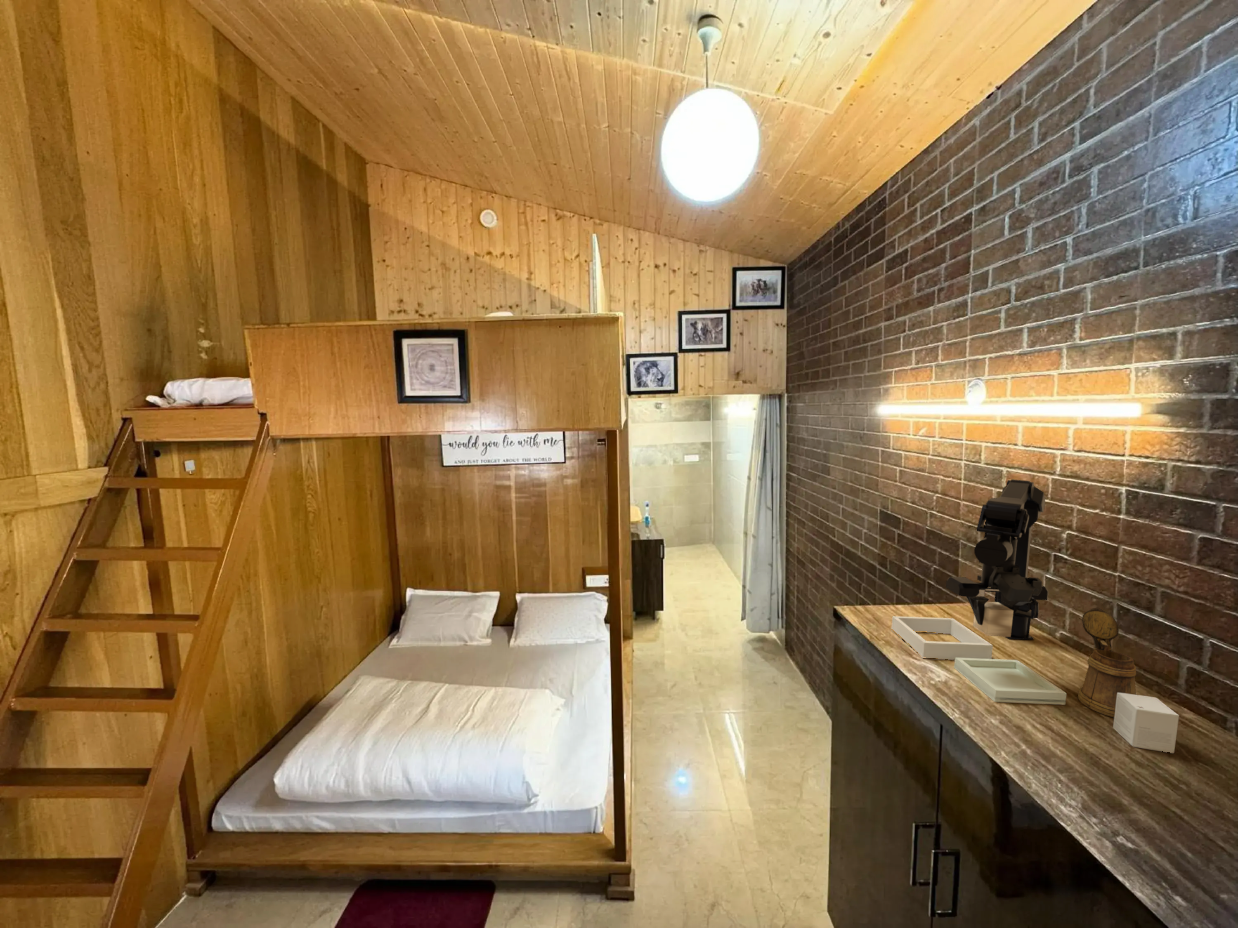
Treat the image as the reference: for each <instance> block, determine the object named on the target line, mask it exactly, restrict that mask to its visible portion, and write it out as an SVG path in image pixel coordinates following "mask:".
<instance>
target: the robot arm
mask: <svg viewBox="0 0 1238 928" xmlns="http://www.w3.org/2000/svg"><path fill="white" fill-rule="evenodd" d="M1045 506H1046V497H1045V492H1044V491H1043V490H1041V489H1039V488H1038V487H1036V486H1035V483H1034V482H1033V481H1031V480H1023V479H1008V480H1007V482H1006V486H1004V487H1002V490H1001V493H1000V496H998V497H992V498H990V499H988V500H987V501H986V502H985V504H982V506H981V510H980V515H979V519H978V523H977V526H976V532H980V533H984V536H983V538H982V539H980V541H978V542H977V543H976V545H975V546H974V550H973V553H974V555H975V558H976V559H977V561H978V562H979V563H980V564H982V565H981V575H979V574H977V577H976V579H977V581H979V582H975V581H973V580H971V579H969V578H967V577H965V576H964V577H963V576H962V577H961V576H949V577H948V578H947V579H946V582H945V588H946V589H948V590H949V591H951V592H953V593H954V594H956V595H957V596H960V597H966V600H967V601H968V603H969V605H970V608H971V610H972V613H973V616H974V615H975V618H976V620H977V623H978V624H979V625H982V624H983V620H984V608H985V603H986V602H989V600H990V599H989V598H987V597H985V595H986V594H985V593H986V592H987V593H994V602H999V603H1000V604H1002V605H1004V606H1006V607H1008V608H1010V609H1011V610H1013V620H1012V629H1011V637H1006V638H1007V639H1009V640H1029V641H1030V640H1031V641H1032V640H1033V641H1034V636H1031V635H1030V629H1031V620H1034V619H1039V614H1040V613H1039V612H1040V602H1039V601H1048V600H1049V590H1048V589H1047V587H1046V586H1045V585H1043V582H1042V580H1041V579H1040V578H1039V577H1028V573H1029V561H1030V552H1031V551H1030V550H1031V537H1032V527H1033V525H1035V524H1036V522H1037V521H1038V520H1039V518H1040V516H1041V515H1042V513H1044V511H1045Z"/></svg>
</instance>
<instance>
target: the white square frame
mask: <svg viewBox="0 0 1238 928" xmlns="http://www.w3.org/2000/svg"><path fill="white" fill-rule="evenodd" d="M891 618H892V619H891V629H893V630H894V631H895V632H896V633H897V634H899V635H900V636H901V637H902V638H903V639H904V640H905V641H906V642H907V643H909V644H910V645H911V646H912V647H913V648H914V649H915V650H916V651H917V652H918V653H919V654H920V655H921V656H922V657H926V658H938V659H937V660H945V659H948V660H949V661H951V660H952V661H955V658H978V659H993V649H994V647H993V646H994V645H993V644H991V643H990V642H989V641H987V640H985V639H984V638H983V637H981V636H980V635H978V634H977V633H976V632H973V630H971V629H969V628H968V627H966V626H965V625H964V624H962V623H961V622H959V621H958V620H956V619H955V618H953V617H951V618H949V617H924V616H922V617H921V616H899V615H898V616H896V615H893V616H892V617H891ZM913 630H914V631H913ZM915 631H927V632H936V633H935V634H938V633H943V634H942V635H944V634H945V635H950V636H952V637H954V638H955V639H957V640H958V641H935V640H934V641H933V640H932V641H931V640H926V639H924V638H923V637H922V636H921V635H920V634H918V633H916V632H915ZM921 656H920V657H921ZM922 657H921V658H922Z"/></svg>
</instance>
